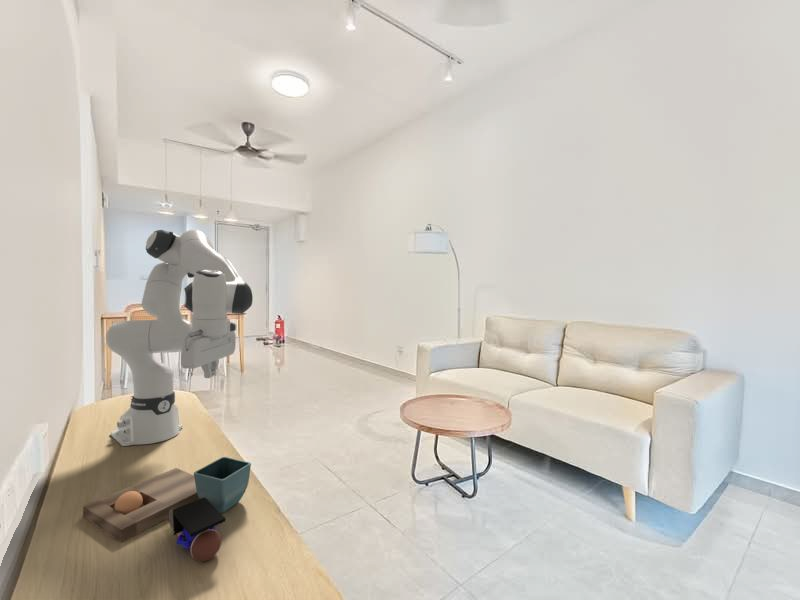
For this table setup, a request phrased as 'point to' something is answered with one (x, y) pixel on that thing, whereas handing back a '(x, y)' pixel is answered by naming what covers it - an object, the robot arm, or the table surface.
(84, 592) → the table surface
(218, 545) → the figurine character
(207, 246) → the robot arm
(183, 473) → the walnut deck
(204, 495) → the flower pot
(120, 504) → the rubber ball
